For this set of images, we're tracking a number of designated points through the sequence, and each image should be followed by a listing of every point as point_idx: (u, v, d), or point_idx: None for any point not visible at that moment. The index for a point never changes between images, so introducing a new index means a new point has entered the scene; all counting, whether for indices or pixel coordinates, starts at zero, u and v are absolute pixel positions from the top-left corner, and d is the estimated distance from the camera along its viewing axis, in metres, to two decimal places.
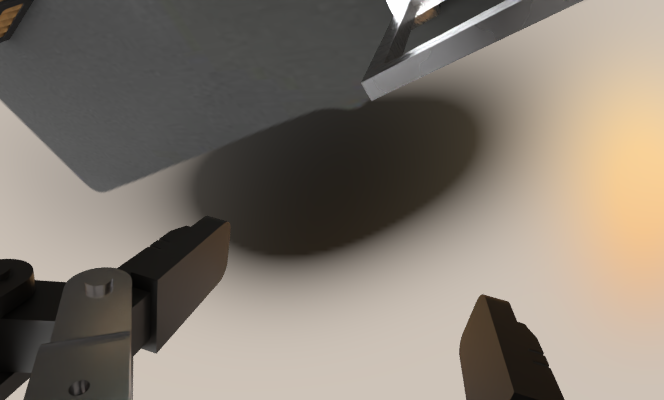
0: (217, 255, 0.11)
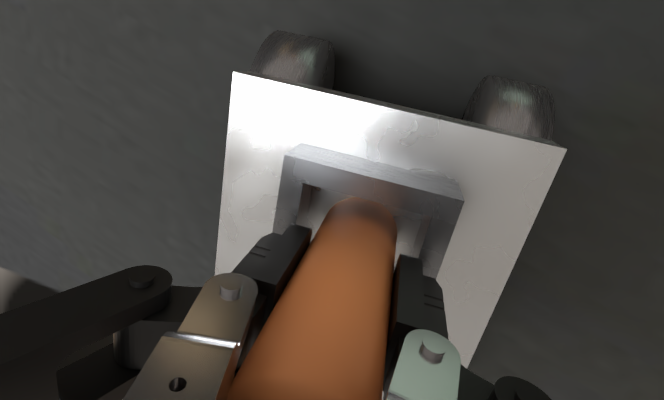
0: None
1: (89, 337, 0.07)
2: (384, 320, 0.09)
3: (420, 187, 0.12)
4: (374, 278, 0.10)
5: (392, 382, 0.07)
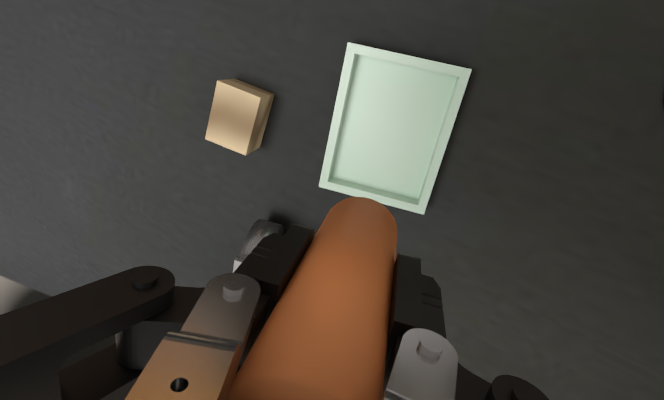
0: None
1: (92, 337, 0.07)
2: (385, 320, 0.09)
3: None
4: (375, 278, 0.10)
5: (389, 381, 0.07)
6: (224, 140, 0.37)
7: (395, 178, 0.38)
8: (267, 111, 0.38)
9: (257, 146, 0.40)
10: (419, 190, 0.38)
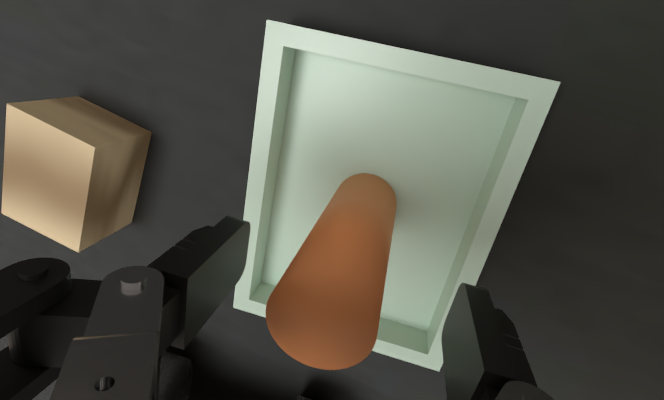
0: (238, 255, 0.12)
1: None
2: (384, 255, 0.12)
3: None
4: (377, 227, 0.13)
5: None
6: (36, 220, 0.19)
7: None
8: (134, 164, 0.20)
9: (121, 224, 0.21)
10: (429, 316, 0.19)
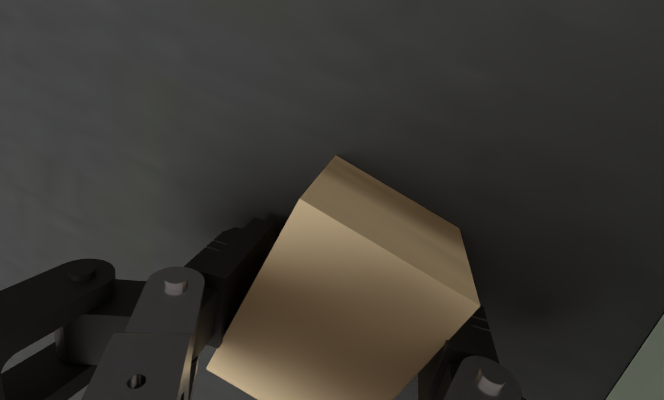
0: (265, 255, 0.12)
1: (33, 334, 0.07)
2: None
3: None
4: None
5: None
6: (277, 392, 0.10)
7: None
8: None
9: None
10: None
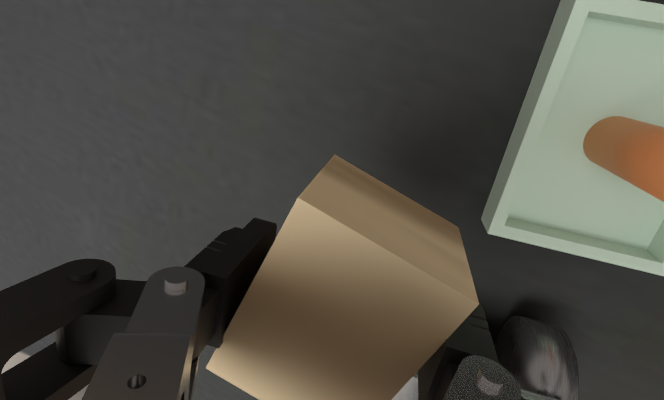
0: None
1: (33, 334, 0.07)
2: None
3: None
4: None
5: None
6: (277, 391, 0.10)
7: (611, 217, 0.24)
8: None
9: None
10: (651, 236, 0.24)
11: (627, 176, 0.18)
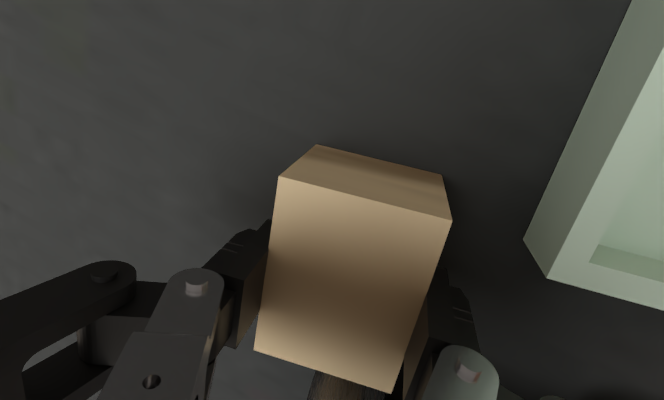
0: None
1: (54, 334, 0.07)
2: None
3: None
4: None
5: None
6: (317, 353, 0.11)
7: None
8: None
9: None
10: None
11: None
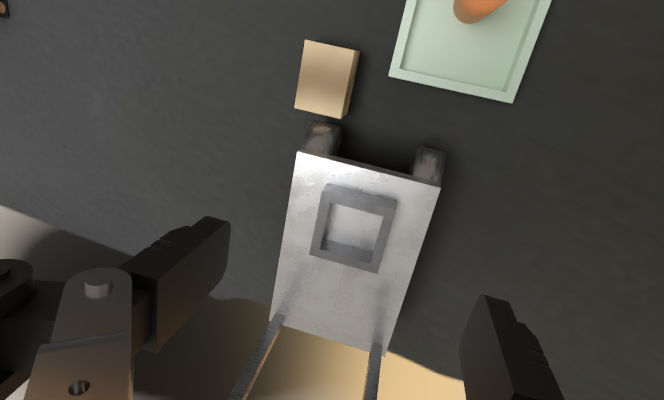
0: (217, 256, 0.11)
1: None
2: None
3: (378, 204, 0.29)
4: None
5: None
6: (316, 105, 0.34)
7: (476, 65, 0.33)
8: (355, 70, 0.35)
9: (346, 111, 0.37)
10: (504, 79, 0.33)
11: (461, 6, 0.28)
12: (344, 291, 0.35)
